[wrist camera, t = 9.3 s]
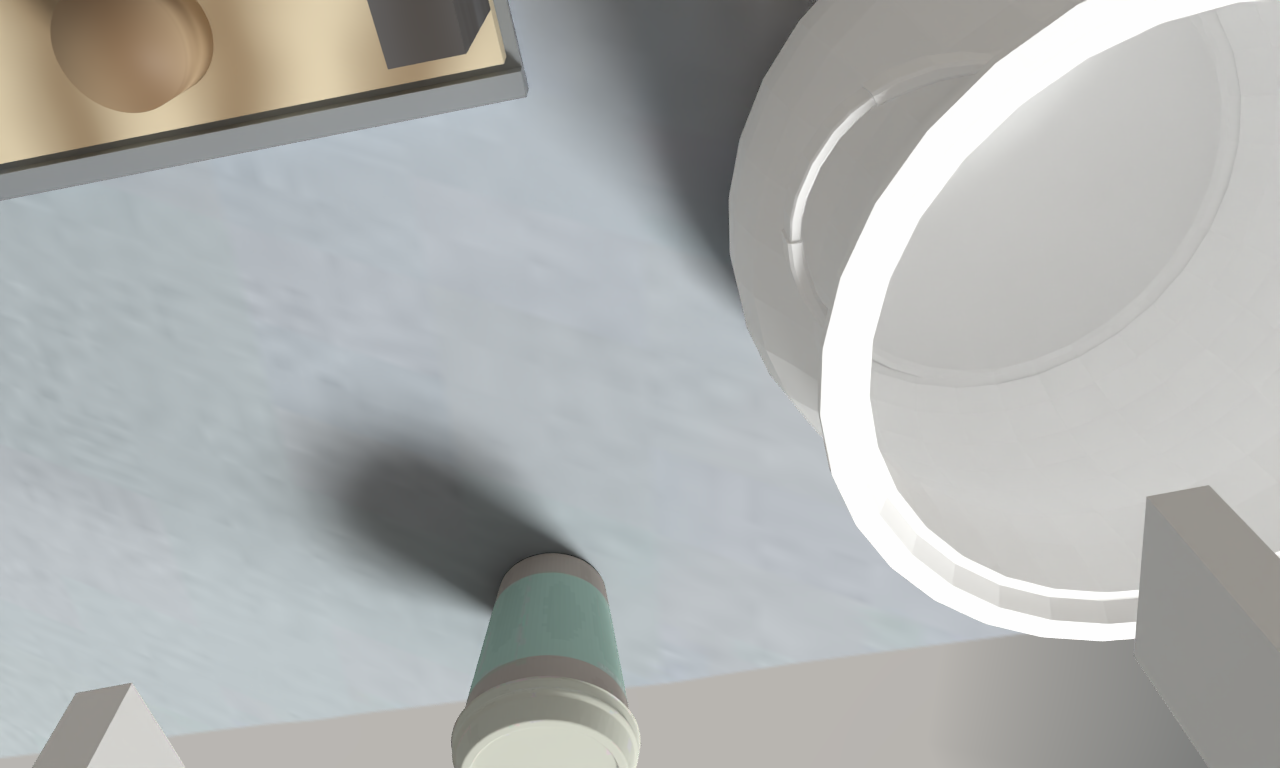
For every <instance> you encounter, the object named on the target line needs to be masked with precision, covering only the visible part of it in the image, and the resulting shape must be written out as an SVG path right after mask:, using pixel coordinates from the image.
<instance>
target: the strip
mask: <svg viewBox="0 0 1280 768" xmlns="http://www.w3.org/2000/svg"><path fill="white" fill-rule="evenodd" d="M59 1H60V0H0V164H3V163H8V162H13V161H18V160H23V159H28V158H33V157H38V156H43V155H48V154H53V153H58V152H63V151H68V150H73V149H78V148H83V147H88V146H93V145H98V144H103V143H108V142H113V141H118V140H123V139H128V138H133V137H139V136H144V135H149V134H154V133H159V132H164V131H169V130H174V129H179V128H184V127H189V126H194V125H199V124H204V123H209V122H214V121H219V120H224V119H229V118H234V117H239V116H244V115H249V114H254V113H259V112H264V111H269V110H274V109H279V108H284V107H289V106H294V105H299V104H304V103H309V102H314V101H319V100H324V99H330V98H335V97H340V96H345V95H350V94H355V93H360V92H365V91H370V90H375V89H380V88H385V87H390V86H395V85H400V84H405V83H410V82H415V81H420V80H425V79H430V78H435V77H440V76H445V75H450V74H455V73H460V72H465V71H470V70H475V69H480V68H485V67H490V66H495V65H500V64H504V62H505V59H506V52H505V48H504V44H503V40H502V36H501V32H500V28H499V23H498V19H497V15H496V11H495V7H494V3H493V0H197V2H198V3H199V4H200V6H201V7H202V9H203V11H204V12H205V14H206V16H207V19H208V21H209V24H210V27H211V30H212V35H213V45H214V46H213V56H212V61H211V63H210V66H209V68H208V70H207V72H206V74H205V75H204V76H203V78H202V79H201V80H200V81H199V82H198V83H197V84H195V85H194V86H192V87H191V88H189V89H188V90H186V91H184V92H183V93H181V94H180V95H178V96H176V97H175V98H173V99H172V100H170V101H168V102H167V103H165V104H164V105H162V106H160V107H158V108H156V109H154V110H151V111H147V112H142V113H125V112H119V111H115V110H112V109H109V108H106V107H104V106H102V105H100V104H98V103H96V102H94V101H92V100H91V99H89V98H88V97H86V96H85V95H84V94H83V93H81V92H80V91H79V90H78V89H77V88H76V87H75V86H74V85H73V84H72V83H71V82H70V80H69V79H68V78H67V77H66V75H65V74H64V72H63V71H62V69H61V67H60V65H59V64H58V62H57V59H56V57H55V54H54V51H53V47H52V43H51V36H50V26H51V19H52V15H53V12H54V9H55V7H56V5H57V3H58V2H59Z"/></svg>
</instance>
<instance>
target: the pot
mask: <svg viewBox="0 0 1280 768" xmlns="http://www.w3.org/2000/svg"><path fill="white" fill-rule="evenodd" d="M729 240H730V257H731V262H732V266H733V270H734V274H735V279H736V283H737V287H738V291H739V296H740V300H741V304H742V308H743V313H744V317H745V321H746V325H747V329H748V331H749V333H750V335H751V337H752V339H753V341H754V343H755V345H756V347H757V349H758V351H759V354H760V356H761V358H762V360H763V362H764V364H765V366H766V368H767V370H768V372H769V374H770V376H771V377H772V378H773V379H774V381H775V382H776V383H777V384H778V386H779V387H780V388H781V389H782V390H783V392H784V393H785V394H786V395H787V397H788V398H789V399H790V400H791V402H792V403H793V404H794V405H795V407H796V408H797V409H798V410H799V412H800V413H801V414H802V415H803V416H804V418H805V419H806V420H807V421H808V422H809V423H810V425H811V426H812V427H813V428H814V429H815V430H816V432H817V433H818V434H819V435H820V436H821V437H823V439H824V444H825V449H826V454H827V459H828V464H829V469H830V471H831V474H832V476H833V478H834V480H835V482H836V484H837V486H838V488H839V491H840V493H841V495H842V497H843V499H844V501H845V503H846V505H847V507H848V509H849V511H850V513H851V515H852V517H853V520H854V522H855V524H856V526H857V527H858V528H859V529H860V531H861V532H862V533H863V534H864V535H865V537H866V538H867V539H868V540H869V541H870V543H871V544H872V545H873V546H874V547H875V549H876V550H877V551H878V552H879V553H880V555H881V556H882V557H883V558H884V559H885V560H886V562H887V563H888V564H889V565H890V566H891V568H893V569H894V570H895V571H897V572H898V573H899V574H901V575H902V576H903V577H905V578H906V579H907V580H908V581H910V582H911V583H912V584H914V585H915V586H916V587H918V588H919V589H920V590H922V591H923V592H924V593H926V594H927V595H928V596H930V597H931V598H932V599H934V600H935V601H937V602H939V603H942V604H944V605H946V606H948V607H950V608H952V609H955V610H957V611H959V612H961V613H963V614H965V615H968V616H970V617H972V618H974V619H976V620H979V621H981V622H983V623H985V624H989V625H993V626H997V627H1001V628H1006V629H1010V630H1014V631H1018V632H1022V633H1027V634H1031V635H1035V636H1040V637H1048V638H1063V639H1079V640H1092V641H1109V640H1122V639H1135V633H1136V620H1137V608H1138V596H1139V583H1140V571H1141V559H1142V546H1143V534H1144V521H1145V509H1146V497H1147V496H1152V495H1157V494H1163V493H1168V492H1174V491H1179V490H1185V489H1190V488H1196V487H1201V486H1206V485H1209V486H1210V487H1211V488H1212V489H1213V490H1214V491H1215V492H1216V493H1217V494H1218V495H1219V496H1220V497H1221V498H1222V499H1223V500H1224V501H1225V502H1226V503H1227V504H1228V505H1229V506H1230V507H1231V508H1232V509H1233V510H1234V511H1235V512H1236V514H1237V515H1238V516H1239V517H1240V518H1241V519H1242V520H1243V521H1244V522H1245V523H1246V524H1247V525H1248V526H1249V527H1250V528H1251V529H1252V530H1253V531H1254V532H1255V533H1256V534H1257V535H1258V536H1259V537H1260V538H1261V539H1262V540H1263V541H1264V543H1265V544H1266V545H1267V546H1268V547H1269V548H1270V549H1271V550H1272V551H1273V552H1274V553H1275V554H1276V555H1277V556H1278V557H1279V558H1280V0H817V2H816V3H815V4H814V5H813V6H812V7H811V8H810V9H809V10H808V12H807V13H806V14H805V15H804V16H803V17H802V18H801V19H800V20H799V22H798V23H797V25H796V27H795V28H794V30H793V32H792V33H791V35H790V36H789V38H788V40H787V41H786V43H785V44H784V46H783V48H782V49H781V51H780V53H779V54H778V56H777V57H776V59H775V61H774V62H773V64H772V65H771V67H770V69H769V70H768V72H767V73H766V75H765V77H764V78H763V80H762V83H761V86H760V88H759V91H758V93H757V96H756V98H755V101H754V103H753V106H752V109H751V111H750V114H749V116H748V119H747V121H746V124H745V127H744V129H743V132H742V134H741V137H740V140H739V145H738V150H737V156H736V161H735V167H734V172H733V178H732V183H731V188H730V194H729Z"/></svg>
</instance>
